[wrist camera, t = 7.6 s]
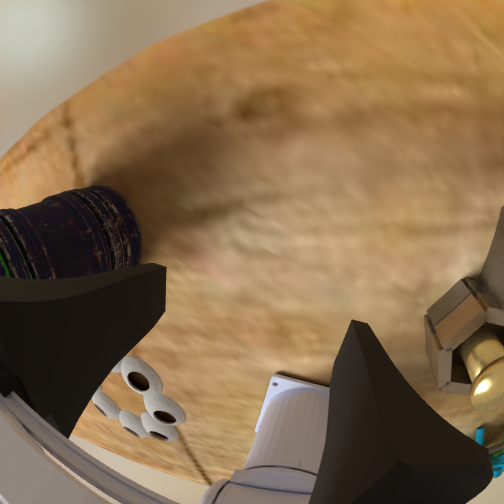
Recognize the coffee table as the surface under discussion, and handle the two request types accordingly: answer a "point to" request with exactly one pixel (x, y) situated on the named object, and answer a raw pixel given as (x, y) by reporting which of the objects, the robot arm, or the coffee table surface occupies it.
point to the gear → (493, 453)
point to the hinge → (466, 318)
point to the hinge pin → (484, 368)
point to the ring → (151, 399)
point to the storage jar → (70, 236)
